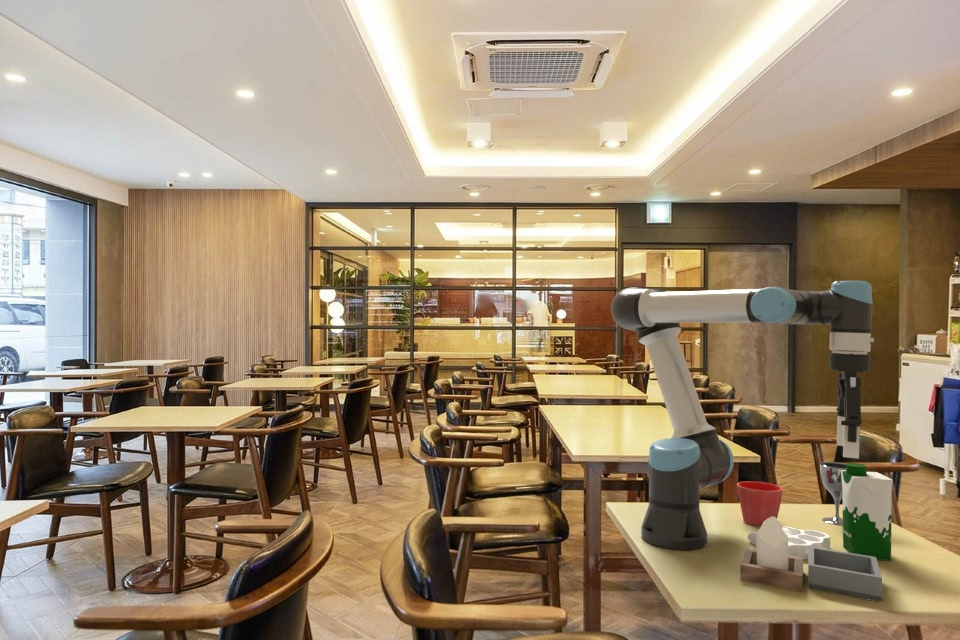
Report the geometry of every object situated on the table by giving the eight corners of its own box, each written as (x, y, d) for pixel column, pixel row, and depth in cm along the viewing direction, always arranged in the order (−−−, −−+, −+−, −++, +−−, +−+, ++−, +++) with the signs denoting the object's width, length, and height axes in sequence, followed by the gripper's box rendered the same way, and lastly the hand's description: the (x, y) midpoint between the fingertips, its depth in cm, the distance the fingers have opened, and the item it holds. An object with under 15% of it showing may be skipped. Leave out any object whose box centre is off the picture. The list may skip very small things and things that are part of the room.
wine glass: (861, 526, 154) (861, 468, 154) (830, 526, 154) (830, 468, 154) (843, 517, 162) (843, 462, 162) (814, 516, 162) (814, 461, 162)
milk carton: (837, 545, 140) (837, 460, 140) (880, 548, 138) (879, 462, 138) (852, 559, 131) (852, 468, 132) (898, 562, 129) (898, 471, 130)
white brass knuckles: (789, 535, 148) (847, 555, 135) (738, 545, 140) (794, 567, 127) (789, 521, 148) (847, 540, 135) (738, 531, 140) (794, 552, 127)
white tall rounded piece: (759, 520, 120) (753, 512, 125) (759, 579, 120) (753, 569, 125) (791, 522, 119) (784, 514, 124) (792, 583, 118) (784, 572, 124)
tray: (808, 588, 116) (808, 565, 116) (808, 567, 126) (808, 546, 126) (882, 602, 110) (882, 578, 110) (876, 579, 120) (875, 557, 121)
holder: (740, 579, 120) (740, 564, 120) (745, 561, 129) (745, 547, 129) (802, 591, 114) (802, 576, 114) (803, 572, 124) (803, 557, 124)
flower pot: (747, 513, 164) (747, 478, 164) (789, 523, 156) (789, 486, 156) (729, 521, 157) (729, 484, 157) (772, 532, 149) (772, 493, 149)
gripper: (879, 355, 115) (877, 465, 115) (862, 351, 137) (860, 443, 137) (834, 354, 118) (832, 460, 118) (825, 350, 140) (822, 439, 140)
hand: (847, 451), depth 127 cm, fingers open, 13 cm apart
